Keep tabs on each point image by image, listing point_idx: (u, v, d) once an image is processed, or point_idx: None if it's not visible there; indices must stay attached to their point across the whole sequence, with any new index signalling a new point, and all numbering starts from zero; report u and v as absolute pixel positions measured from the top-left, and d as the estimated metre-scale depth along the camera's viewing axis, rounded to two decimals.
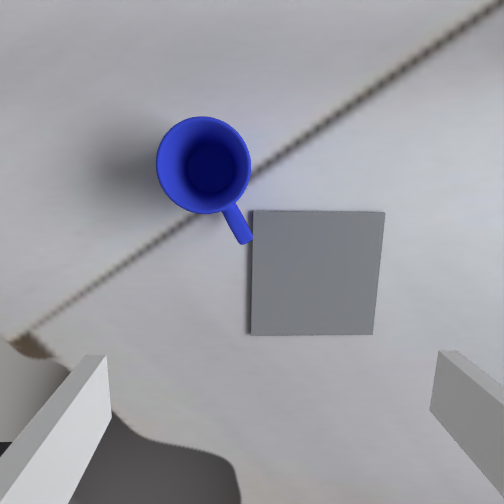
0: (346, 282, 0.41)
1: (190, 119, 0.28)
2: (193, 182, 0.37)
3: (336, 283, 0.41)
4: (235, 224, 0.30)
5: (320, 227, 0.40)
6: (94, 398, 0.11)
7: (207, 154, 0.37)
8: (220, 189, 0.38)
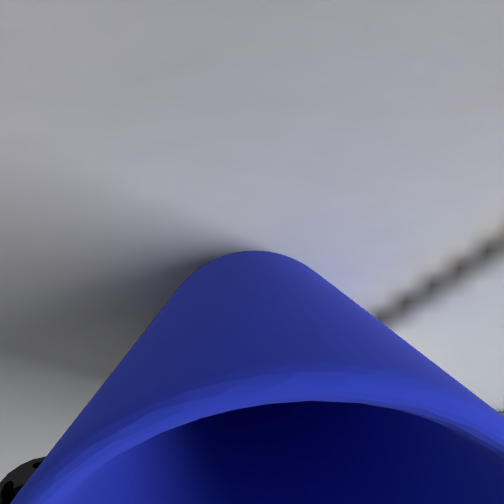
0: None
1: (209, 401, 0.03)
2: None
3: None
4: None
5: None
6: None
7: None
8: None
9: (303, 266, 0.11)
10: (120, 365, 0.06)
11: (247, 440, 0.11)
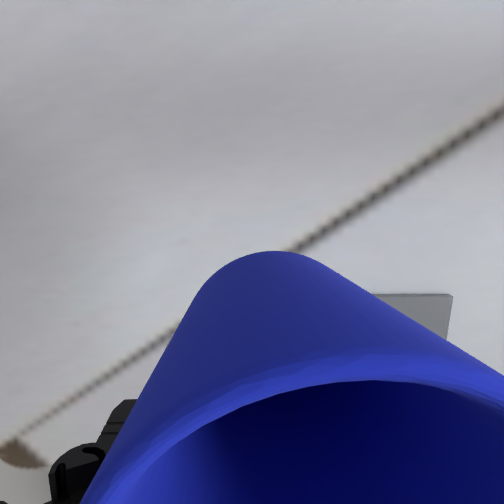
0: None
1: (288, 378, 0.04)
2: None
3: None
4: None
5: None
6: None
7: None
8: None
9: (325, 266, 0.11)
10: (174, 353, 0.06)
11: (267, 432, 0.12)
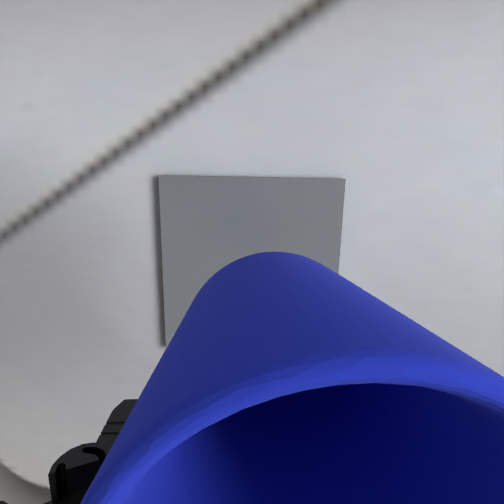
0: None
1: (288, 381, 0.04)
2: None
3: None
4: None
5: (254, 199, 0.28)
6: None
7: None
8: None
9: (325, 267, 0.11)
10: (173, 355, 0.06)
11: (267, 434, 0.12)
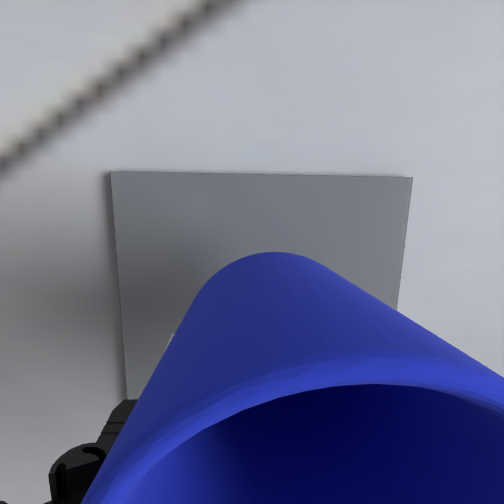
0: None
1: (288, 382, 0.04)
2: None
3: None
4: None
5: (267, 210, 0.18)
6: None
7: None
8: None
9: (325, 267, 0.11)
10: (173, 355, 0.06)
11: (267, 434, 0.12)
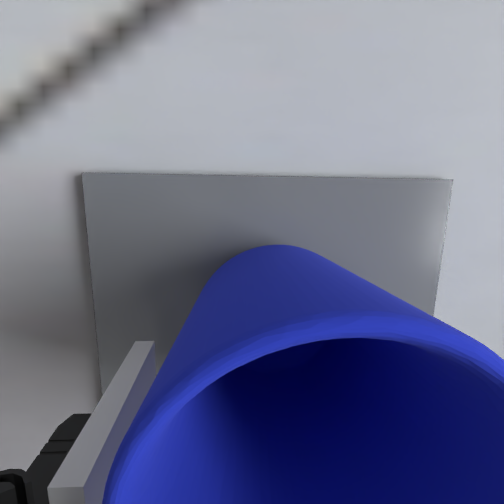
0: None
1: (303, 332, 0.05)
2: None
3: None
4: None
5: (275, 219, 0.14)
6: (147, 379, 0.12)
7: None
8: (294, 364, 0.15)
9: None
10: (197, 323, 0.07)
11: (268, 412, 0.13)
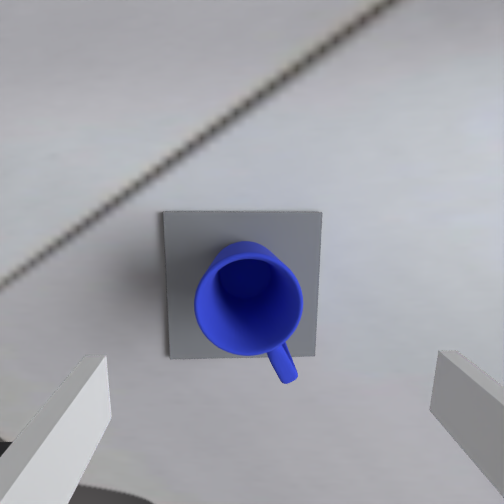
0: None
1: (237, 256, 0.24)
2: (225, 286, 0.34)
3: None
4: (279, 364, 0.26)
5: (245, 230, 0.33)
6: (94, 398, 0.11)
7: None
8: (254, 294, 0.34)
9: (263, 246, 0.31)
10: (214, 261, 0.26)
11: (241, 308, 0.32)
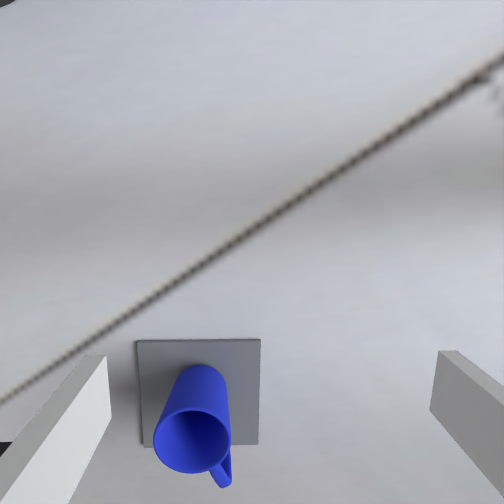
0: (229, 400, 0.45)
1: (183, 409, 0.34)
2: None
3: None
4: (217, 476, 0.36)
5: (200, 354, 0.43)
6: (94, 398, 0.11)
7: None
8: None
9: (211, 374, 0.41)
10: (170, 403, 0.36)
11: (195, 419, 0.41)
